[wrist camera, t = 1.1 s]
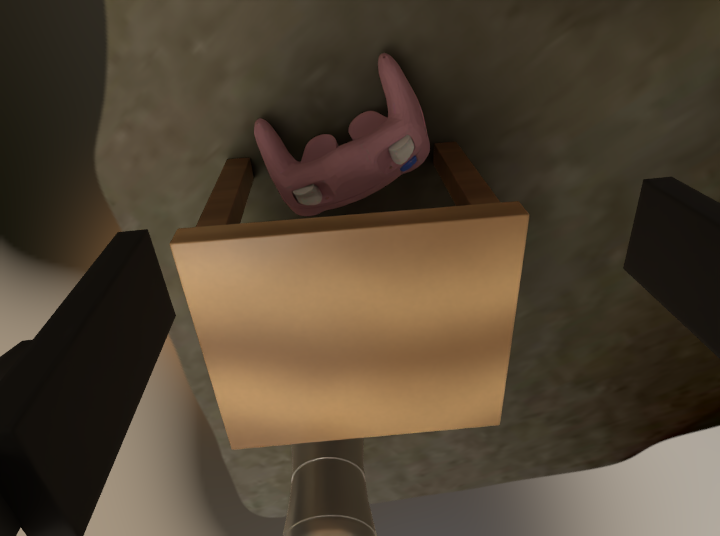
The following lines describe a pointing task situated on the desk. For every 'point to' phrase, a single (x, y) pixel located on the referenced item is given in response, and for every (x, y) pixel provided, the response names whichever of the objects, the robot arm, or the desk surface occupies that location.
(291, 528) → the plastic bottle
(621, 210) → the desk surface
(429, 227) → the side table
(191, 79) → the desk surface
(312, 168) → the video game controller
